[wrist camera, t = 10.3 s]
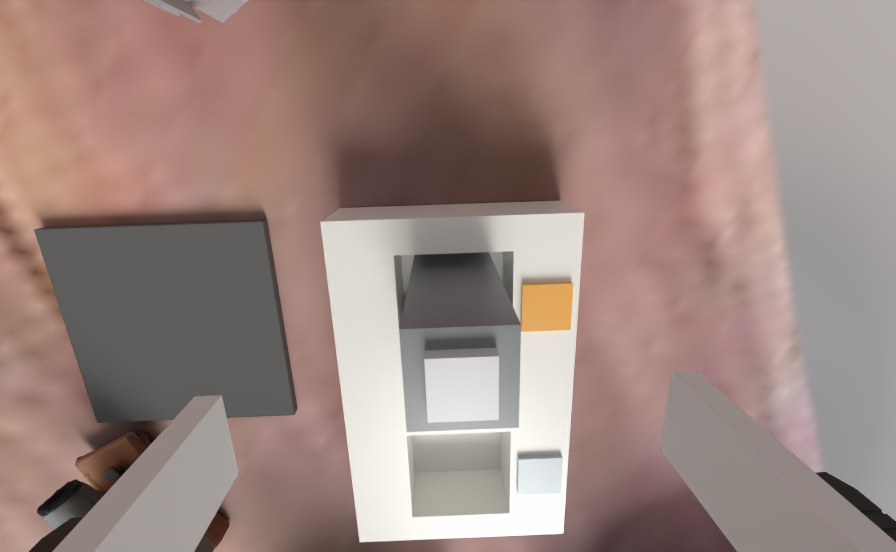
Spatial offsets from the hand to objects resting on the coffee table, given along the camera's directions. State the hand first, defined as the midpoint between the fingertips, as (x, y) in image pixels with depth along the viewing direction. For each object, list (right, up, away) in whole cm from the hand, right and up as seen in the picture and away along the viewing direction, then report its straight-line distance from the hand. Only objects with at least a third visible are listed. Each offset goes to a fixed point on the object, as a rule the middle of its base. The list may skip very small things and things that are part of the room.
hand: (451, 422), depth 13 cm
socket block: (0, -1, +14) cm, 14 cm away
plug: (0, +4, +11) cm, 12 cm away
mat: (-16, +2, +12) cm, 20 cm away
